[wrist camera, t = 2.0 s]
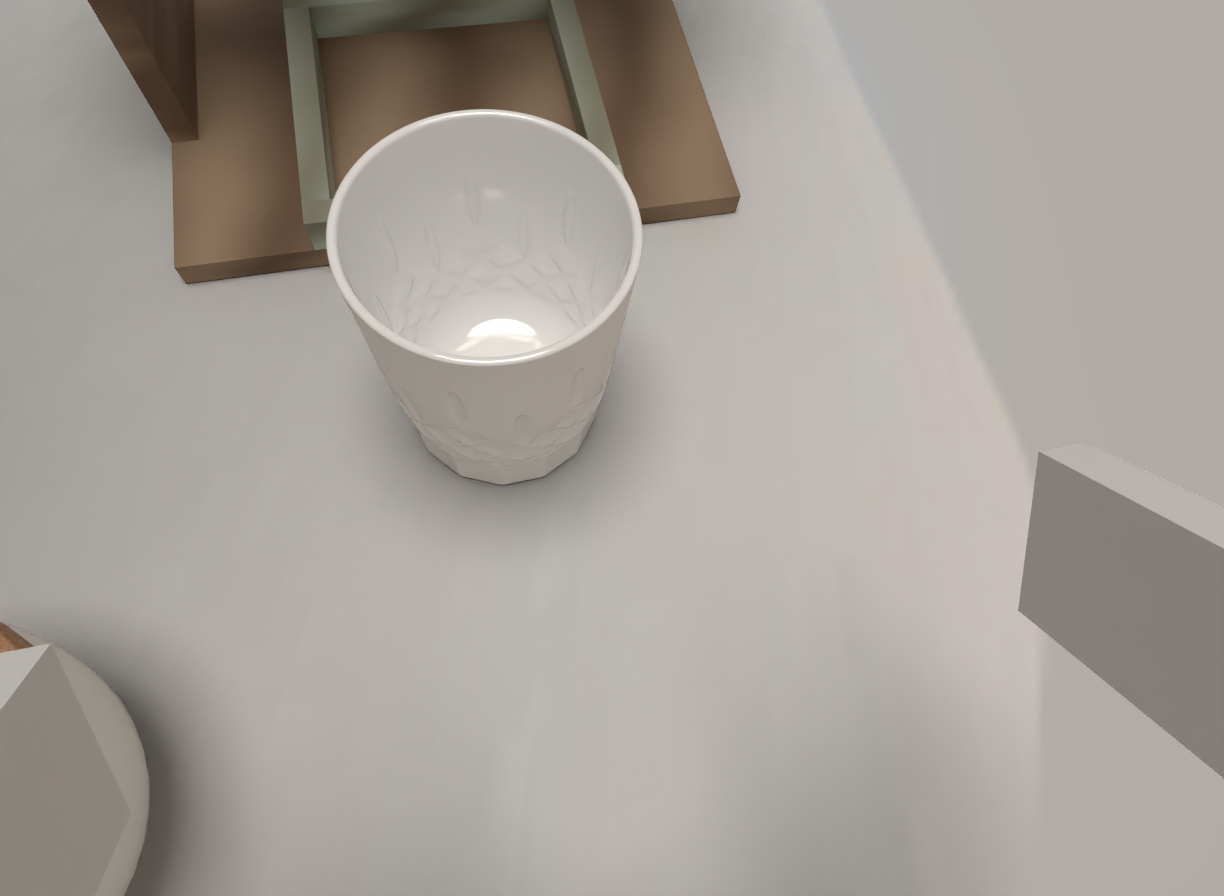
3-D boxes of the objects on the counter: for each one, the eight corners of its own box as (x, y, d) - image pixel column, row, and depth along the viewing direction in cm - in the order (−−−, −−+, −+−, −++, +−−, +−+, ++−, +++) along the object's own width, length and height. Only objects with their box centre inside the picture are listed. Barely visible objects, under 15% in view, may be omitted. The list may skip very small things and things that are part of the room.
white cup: (366, 474, 27) (277, 323, 18) (432, 290, 30) (383, 80, 21) (586, 523, 27) (608, 397, 18) (629, 333, 30) (667, 143, 21)
